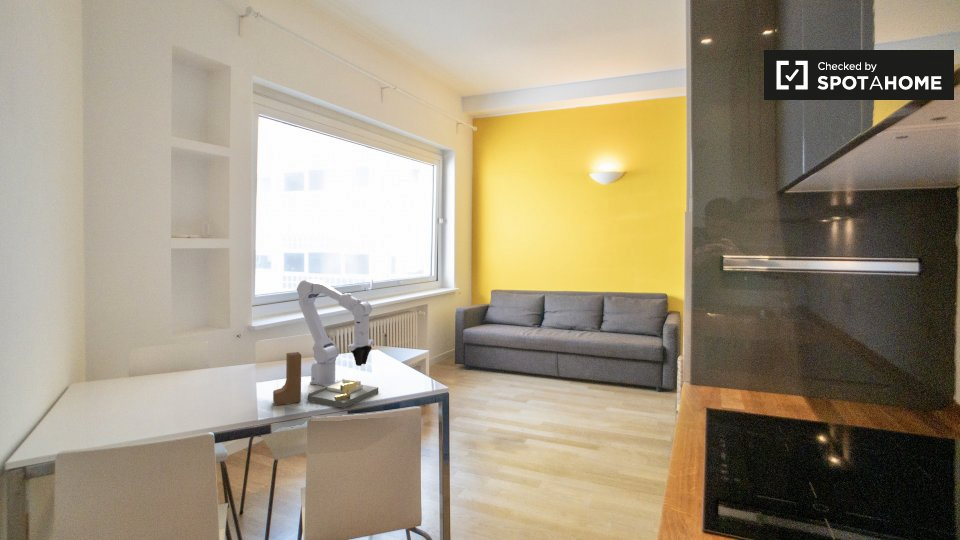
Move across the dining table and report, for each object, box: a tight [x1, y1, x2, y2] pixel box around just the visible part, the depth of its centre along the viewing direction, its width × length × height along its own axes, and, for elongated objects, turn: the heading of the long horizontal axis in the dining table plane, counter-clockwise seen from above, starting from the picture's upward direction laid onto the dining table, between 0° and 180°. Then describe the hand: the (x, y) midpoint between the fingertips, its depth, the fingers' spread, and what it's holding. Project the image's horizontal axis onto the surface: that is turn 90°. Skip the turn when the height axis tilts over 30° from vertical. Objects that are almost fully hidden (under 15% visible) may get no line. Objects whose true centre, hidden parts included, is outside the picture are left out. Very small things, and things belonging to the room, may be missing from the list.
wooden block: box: [272, 351, 302, 406], centre depth 184 cm, size 9×4×18 cm, turn 121°
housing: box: [306, 379, 379, 409], centre depth 193 cm, size 17×21×3 cm
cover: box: [327, 377, 364, 393], centre depth 196 cm, size 10×9×2 cm
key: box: [334, 382, 357, 400], centre depth 185 cm, size 8×1×5 cm, turn 138°
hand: (361, 364), depth 205 cm, fingers closed
